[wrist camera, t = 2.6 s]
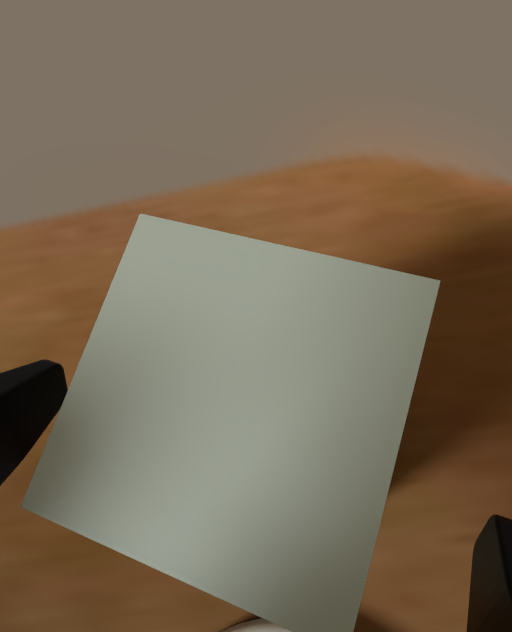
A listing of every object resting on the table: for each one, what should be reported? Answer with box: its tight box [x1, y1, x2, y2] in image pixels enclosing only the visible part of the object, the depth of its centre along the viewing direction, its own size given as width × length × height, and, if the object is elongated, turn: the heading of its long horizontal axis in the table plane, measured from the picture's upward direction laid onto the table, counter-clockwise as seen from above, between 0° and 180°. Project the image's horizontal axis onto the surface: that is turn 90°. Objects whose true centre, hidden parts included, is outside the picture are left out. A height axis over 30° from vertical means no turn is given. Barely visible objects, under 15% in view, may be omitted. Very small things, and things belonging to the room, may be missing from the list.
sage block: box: [21, 214, 440, 632], centre depth 12 cm, size 5×5×11 cm
